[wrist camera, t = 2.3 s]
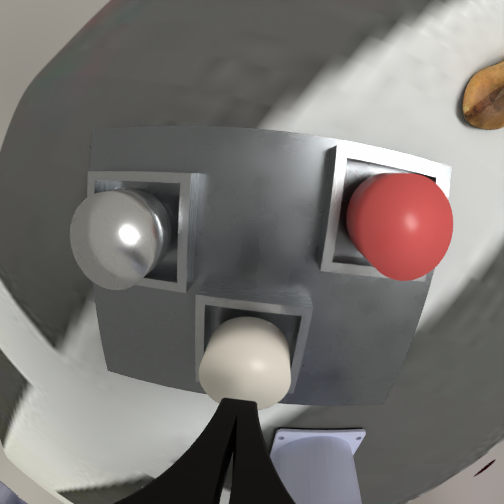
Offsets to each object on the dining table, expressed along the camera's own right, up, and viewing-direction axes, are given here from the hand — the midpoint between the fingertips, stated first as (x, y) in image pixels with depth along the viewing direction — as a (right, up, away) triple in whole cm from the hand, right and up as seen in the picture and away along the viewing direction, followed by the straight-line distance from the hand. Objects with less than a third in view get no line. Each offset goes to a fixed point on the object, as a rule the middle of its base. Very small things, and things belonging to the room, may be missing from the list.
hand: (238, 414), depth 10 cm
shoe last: (+20, +19, +2) cm, 28 cm away
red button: (+7, +8, +2) cm, 11 cm away
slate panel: (+1, +5, +7) cm, 8 cm away
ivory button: (0, +1, +5) cm, 5 cm away
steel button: (-6, +8, +3) cm, 10 cm away
